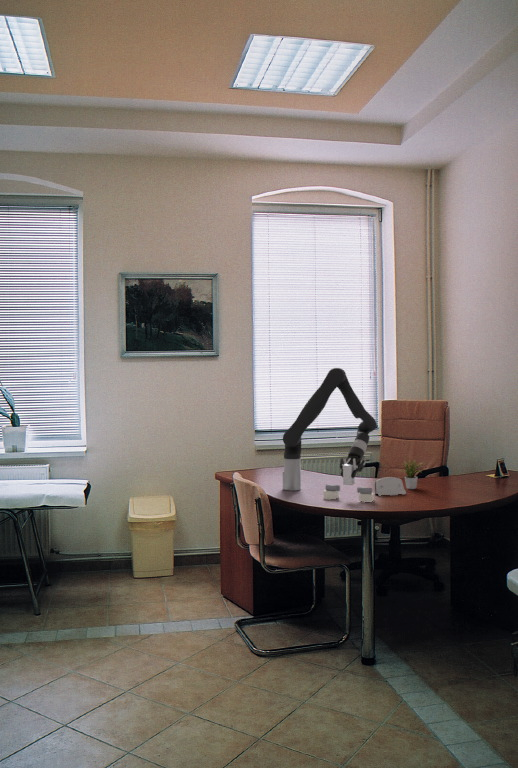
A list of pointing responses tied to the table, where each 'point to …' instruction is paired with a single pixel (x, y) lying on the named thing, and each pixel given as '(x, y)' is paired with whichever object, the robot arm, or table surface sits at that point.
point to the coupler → (348, 474)
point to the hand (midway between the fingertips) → (347, 476)
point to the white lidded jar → (331, 491)
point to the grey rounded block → (389, 486)
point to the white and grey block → (365, 494)
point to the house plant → (411, 475)
